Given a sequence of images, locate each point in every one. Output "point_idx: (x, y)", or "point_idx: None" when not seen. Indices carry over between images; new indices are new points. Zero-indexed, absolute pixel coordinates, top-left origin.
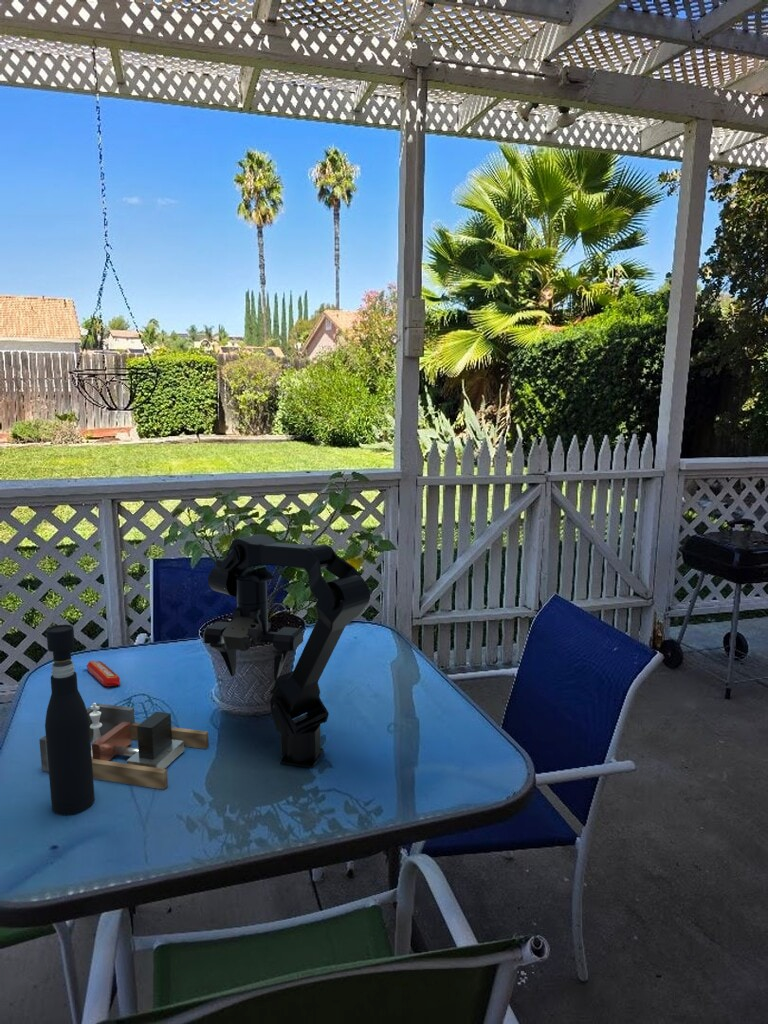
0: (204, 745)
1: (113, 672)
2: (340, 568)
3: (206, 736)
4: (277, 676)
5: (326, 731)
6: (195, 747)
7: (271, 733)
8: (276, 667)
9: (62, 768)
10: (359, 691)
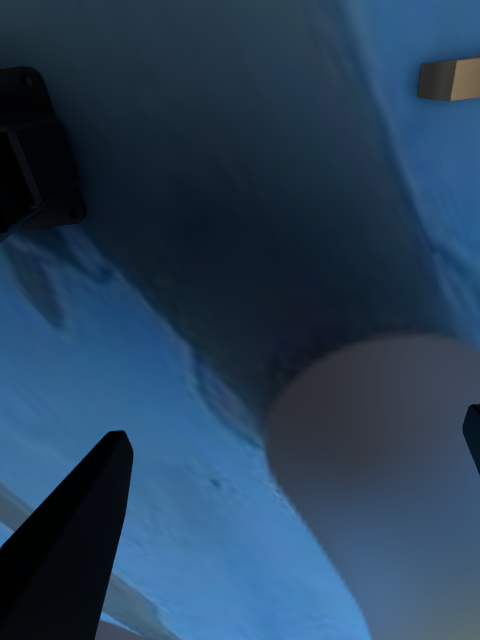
0: (435, 62)
1: None
2: None
3: (446, 78)
4: (86, 460)
5: (68, 346)
6: (477, 56)
7: (223, 280)
8: (32, 535)
9: None
10: (137, 521)
